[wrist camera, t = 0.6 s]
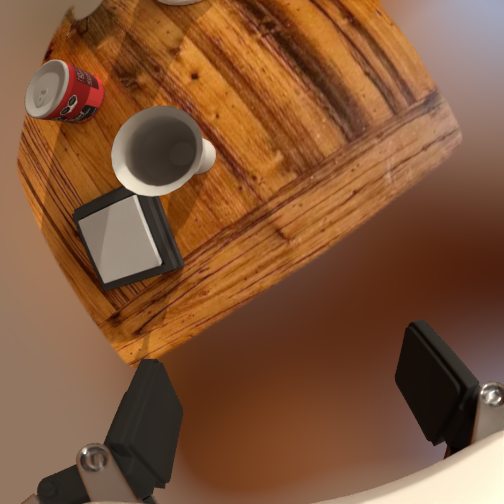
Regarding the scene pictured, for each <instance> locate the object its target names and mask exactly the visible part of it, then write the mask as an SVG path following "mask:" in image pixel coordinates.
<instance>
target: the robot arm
mask: <svg viewBox="0 0 504 504" xmlns="http://www.w3.org/2000/svg"><path fill="white" fill-rule="evenodd" d="M157 1H159V2H161V3H163V4H168V5H186V4H192V3H196V2H199V1H202V0H157ZM395 381H396V384H397V386H398V388H399V389H400V391H401V393H402V395H403V396H404V398H405V400H406V402H407V404H408V405H409V407H410V409H411V411H412V413H413V414H414V416H415V418H416V420H417V422H418V424H419V426H420V427H421V429H422V431H423V433H424V435H425V437H426V439H427V440H428V441H431V442H432V444H433V446H436V445H438V444H440V443H442V442H444V441H445V442H446V444H447V448H446V452H445V455H444V459H443V460H442V461H440V462H438V463H435V464H433V465H431V466H429V467H427V468H425V469H423V470H420V471H418V472H416V473H414V474H411V475H409V476H406V477H404V478H401V479H399V480H396V481H393V482H391V483H388V484H385V485H382V486H379V487H376V488H373V489H369V490H366V491H363V492H360V493H356V494H352V495H348V496H345V497H340V498H336V499H332V500H327V501H322V502H317V503H311V504H504V385H503V384H501V383H499V382H495V381H490V382H487V383H485V384H484V385H482V387H480V385H479V381H478V380H477V379H476V377H475V376H474V375H473V374H472V373H471V371H470V370H469V369H468V368H467V367H466V366H465V364H464V363H463V362H462V361H461V360H460V359H459V357H458V356H457V355H456V354H455V353H454V352H453V351H452V349H451V348H450V347H449V346H448V345H447V344H446V343H445V342H444V341H443V340H442V338H441V337H440V336H439V335H438V334H437V333H436V332H435V331H434V330H433V329H432V328H431V327H430V325H429V324H428V323H427V322H426V321H425V320H418V321H415V322H411V323H410V324H409V326H408V327H407V328H406V329H405V334H404V339H403V344H402V348H401V353H400V357H399V362H398V366H397V370H396V373H395ZM182 417H183V408H182V405H181V403H180V401H179V399H178V397H177V395H176V393H175V390H174V388H173V386H172V384H171V382H170V379H169V377H168V374H167V372H166V370H165V368H164V365H163V363H159V361H158V360H157V359H142V360H141V362H140V364H139V366H138V368H137V370H136V373H135V375H134V377H133V379H132V382H131V384H130V386H129V389H128V391H127V392H125V394H124V396H123V398H122V400H121V403H120V405H119V407H118V410H117V412H116V414H115V417H114V419H113V421H112V424H111V426H110V429H109V431H108V434H107V436H106V439H105V442H104V444H100V443H91V444H88V445H86V446H84V447H83V448H82V449H81V450H80V451H79V452H78V454H77V457H76V463H77V464H76V465H74V466H71V467H69V468H67V469H64V470H62V471H60V472H58V473H55V474H53V475H50V476H48V477H46V478H44V479H42V481H41V482H40V483H39V485H38V488H37V493H38V494H37V495H35V494H32V495H31V496H30V497H29V498H27V499H26V500H25V501H24V502H22V503H21V504H159V503H158V502H157V500H156V499H155V497H154V496H153V490H154V487H156V488H164V489H165V484H166V483H168V482H169V481H170V479H171V473H172V468H173V462H174V457H175V452H176V447H177V442H178V436H179V431H180V426H181V422H182Z"/></svg>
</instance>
